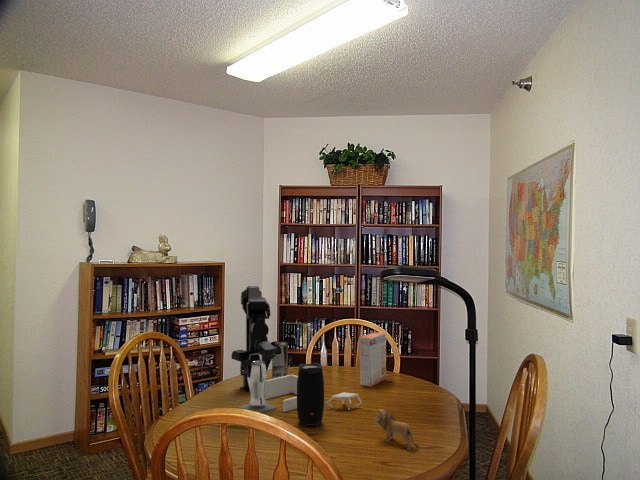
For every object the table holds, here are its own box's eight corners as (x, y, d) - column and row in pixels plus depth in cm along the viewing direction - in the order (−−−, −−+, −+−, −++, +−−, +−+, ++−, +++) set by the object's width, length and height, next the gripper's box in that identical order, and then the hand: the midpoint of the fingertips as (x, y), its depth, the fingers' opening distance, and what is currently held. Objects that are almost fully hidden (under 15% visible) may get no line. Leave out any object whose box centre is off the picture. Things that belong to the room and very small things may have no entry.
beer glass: (264, 407, 170) (262, 366, 170) (245, 406, 172) (244, 365, 171) (269, 400, 177) (268, 360, 176) (252, 399, 178) (250, 360, 178)
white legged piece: (350, 402, 182) (350, 389, 182) (362, 408, 174) (362, 395, 174) (322, 407, 176) (322, 393, 176) (334, 414, 169) (334, 400, 169)
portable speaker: (320, 429, 154) (320, 369, 154) (292, 426, 157) (293, 367, 157) (327, 420, 162) (327, 363, 162) (301, 417, 165) (301, 361, 165)
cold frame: (257, 400, 183) (257, 382, 183) (291, 391, 194) (292, 374, 195) (284, 411, 170) (284, 392, 171) (319, 401, 182) (319, 383, 182)
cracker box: (374, 377, 215) (374, 331, 215) (386, 380, 212) (386, 333, 212) (358, 385, 204) (358, 336, 204) (370, 387, 200) (370, 338, 200)
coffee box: (286, 383, 206) (286, 345, 207) (271, 383, 206) (271, 345, 207) (288, 377, 216) (288, 341, 216) (273, 377, 216) (274, 341, 216)
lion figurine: (371, 439, 146) (371, 410, 146) (380, 434, 151) (380, 405, 151) (415, 452, 137) (415, 421, 137) (423, 446, 141) (423, 416, 142)
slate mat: (237, 408, 174) (237, 406, 174) (260, 402, 181) (260, 401, 181) (253, 415, 167) (253, 414, 167) (276, 409, 173) (276, 407, 173)
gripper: (248, 340, 162) (247, 385, 162) (290, 333, 174) (290, 375, 174) (230, 335, 170) (230, 378, 170) (272, 329, 183) (272, 369, 183)
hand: (257, 375), depth 174 cm, fingers closed on beer glass, 6 cm apart
